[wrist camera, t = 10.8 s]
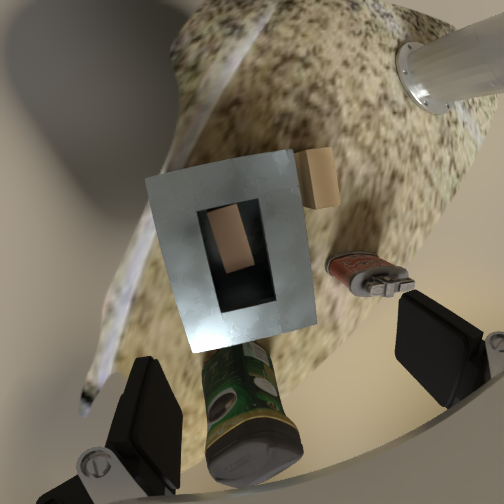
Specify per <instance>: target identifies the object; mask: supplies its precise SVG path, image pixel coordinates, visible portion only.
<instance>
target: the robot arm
mask: <svg viewBox="0 0 504 504" xmlns="http://www.w3.org/2000/svg"><path fill="white" fill-rule="evenodd" d="M396 66H397V71H398V75H399V77H400V80H401V82H402V84H403V86H404V88H405V90H406V91H407V93H408V94H409V96H410V97H411V98H412V99H413V101H414V102H415V103H416V104H417V105H418V106H419V107H421V108H422V109H423V110H425V111H427V112H429V113H431V114H435V115H438V114H444V113H447V112H448V111H450V109H451V108H452V106H453V104H454V101H459V100H464V99H470V98H475V97H481V96H487V95H493V94H500V93H504V12H503V13H501V14H498V15H495V16H493V17H490V18H488V19H485V20H483V21H480V22H477V23H474V24H472V25H469V26H467V27H464V28H462V29H459V30H457V31H455V32H452V33H450V34H448V35H445V36H443V37H441V38H439V39H437V40H434V41H432V42H430V43H428V44H426V45H424V44H422V43H419V42H414V41H413V42H408V43H406V44H404V45H402V46H401V47H400V48H399V50H398V52H397V55H396ZM398 307H399V308H398V322H397V335H396V345H395V356H396V359H397V360H398V361H399V362H400V363H401V364H402V365H403V366H404V367H405V368H406V369H407V370H408V372H409V373H410V374H411V375H412V376H413V377H414V378H415V379H416V380H417V381H418V382H419V383H420V384H421V385H422V386H423V387H424V388H425V389H426V390H427V392H428V393H430V395H431V396H432V397H433V398H434V399H435V400H436V401H437V402H438V403H439V404H440V405H441V406H442V407H446V408H447V409H448V410H446V411H445V412H443V413H442V414H440V415H438V416H437V417H435V418H434V419H432V420H430V421H428V422H427V423H425V424H423V425H421V426H420V427H418V428H416V429H414V430H413V431H410V432H409V433H407V434H405V435H403V436H401V437H399V438H397V439H395V440H393V441H391V442H389V443H386V444H385V445H382V446H380V447H378V448H376V449H373V450H371V451H369V452H366V453H364V454H361V455H359V456H357V457H354V458H351V459H349V460H346V461H343V462H341V463H338V464H335V465H332V466H329V467H326V468H323V469H320V470H317V471H313V472H310V473H307V474H303V475H300V476H296V477H292V478H288V479H285V480H280V481H276V482H271V483H266V484H261V485H256V486H250V487H244V488H238V489H231V490H224V491H216V492H207V493H198V494H197V493H196V494H182V495H181V494H180V495H175V491H176V489H179V488H180V469H181V442H182V423H183V415H182V411H181V408H180V406H179V404H178V402H177V400H176V398H175V396H174V394H173V392H172V390H171V388H170V385H169V383H168V381H167V379H166V377H165V375H164V372H163V370H162V368H161V366H160V363H159V361H158V360H157V359H153V358H152V357H151V356H147V357H139V358H136V359H135V361H134V364H133V367H132V370H131V372H130V375H129V378H128V381H127V384H126V388H125V390H124V393H123V394H122V395H121V397H120V399H119V402H118V405H117V408H116V412H115V415H114V418H113V421H112V424H111V428H110V431H109V434H108V438H107V441H106V445H105V447H93V448H91V449H88V450H86V451H85V452H84V453H82V454H81V456H80V457H79V459H78V461H77V463H76V470H77V473H78V475H76V476H74V477H73V478H71V479H69V480H68V481H66V482H64V483H63V484H61V485H59V486H57V487H56V488H54V489H52V490H50V491H49V492H47V493H45V494H43V495H42V496H41V497H39V499H38V500H37V502H36V504H504V332H493V333H491V334H489V335H488V336H487V337H486V339H485V341H484V340H482V337H483V333H484V332H482V331H481V330H479V329H478V328H476V327H475V326H473V325H472V324H470V323H469V322H467V321H465V320H464V319H463V318H461V317H459V316H458V315H456V314H455V313H453V312H452V311H450V310H449V309H447V308H445V307H444V306H442V305H441V304H439V303H437V302H436V301H434V300H433V299H431V298H429V297H428V296H426V295H424V294H423V293H421V292H419V291H418V290H411V291H409V292H406V293H403V294H402V296H401V298H400V299H399V306H398Z"/></svg>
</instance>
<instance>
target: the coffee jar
mask: <svg viewBox="0 0 504 504" xmlns="http://www.w3.org/2000/svg"><path fill="white" fill-rule="evenodd" d="M202 386H203V392H204V398H205V405H206V414H207V424H208V432H207V440H206V446H205V457H206V461H207V467H208V470H209V473H210V474H211V476H212V477H213V478H214V479H215V481H217V482H219V483H222V484H225V485H228V486H231V487H235V488H244V487H250V486H255V485H257V484H260V483H262V482H264V481H266V480H268V479H270V478H272V477H274V476H275V475H277V474H279V473H280V472H282V471H284V470H285V469H287V468H288V467H290V466H291V465H293V464H294V463H296V462H297V461H298V460H300V459H301V457H302V456H303V454H304V451H303V446H302V444H301V439H300V435H299V431H298V429H297V427H296V426H295V424H294V423H293V422H292V421H291V420H290V419H289V418H288V417H287V416H286V415H285V413H284V410H283V407H282V404H281V400H280V396H279V392H278V388H277V383H276V378H275V373H274V368H273V365H272V361H271V358H270V356H269V355H268V353H267V352H266V351H265V350H264V349H262V348H261V347H260V346H258V345H257V344H255V343H253V342H251V341H250V342H245V343H241V344H237V345H232V346H227V347H223V348H221V349H220V350H219V351H218V352H217V353H216V354H215V355H214V356H213V357H212V358H211V359H210V360H209V361H208V362H207V364H206V365H205V366H204V368H203V370H202Z"/></svg>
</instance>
